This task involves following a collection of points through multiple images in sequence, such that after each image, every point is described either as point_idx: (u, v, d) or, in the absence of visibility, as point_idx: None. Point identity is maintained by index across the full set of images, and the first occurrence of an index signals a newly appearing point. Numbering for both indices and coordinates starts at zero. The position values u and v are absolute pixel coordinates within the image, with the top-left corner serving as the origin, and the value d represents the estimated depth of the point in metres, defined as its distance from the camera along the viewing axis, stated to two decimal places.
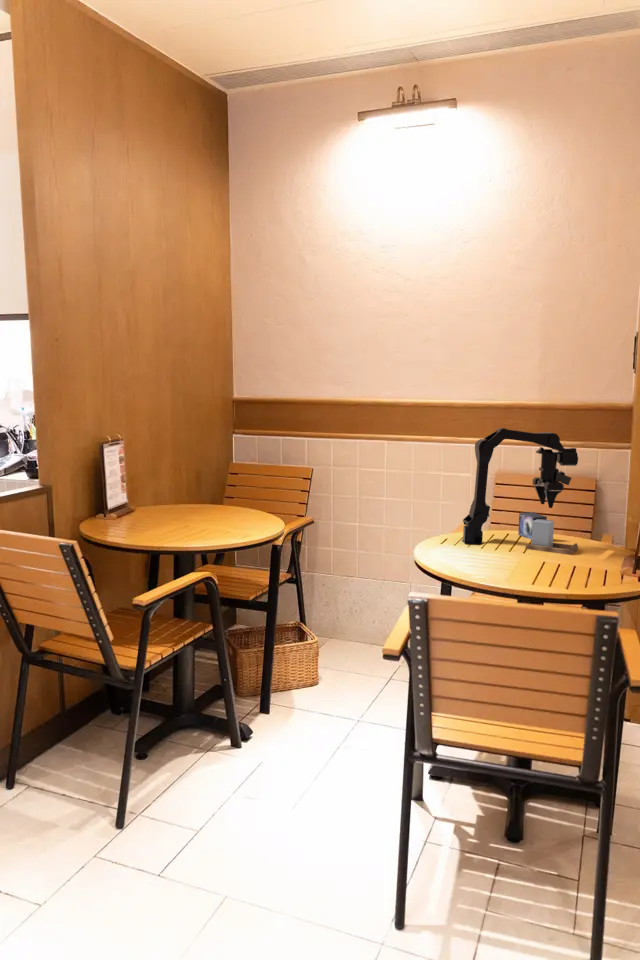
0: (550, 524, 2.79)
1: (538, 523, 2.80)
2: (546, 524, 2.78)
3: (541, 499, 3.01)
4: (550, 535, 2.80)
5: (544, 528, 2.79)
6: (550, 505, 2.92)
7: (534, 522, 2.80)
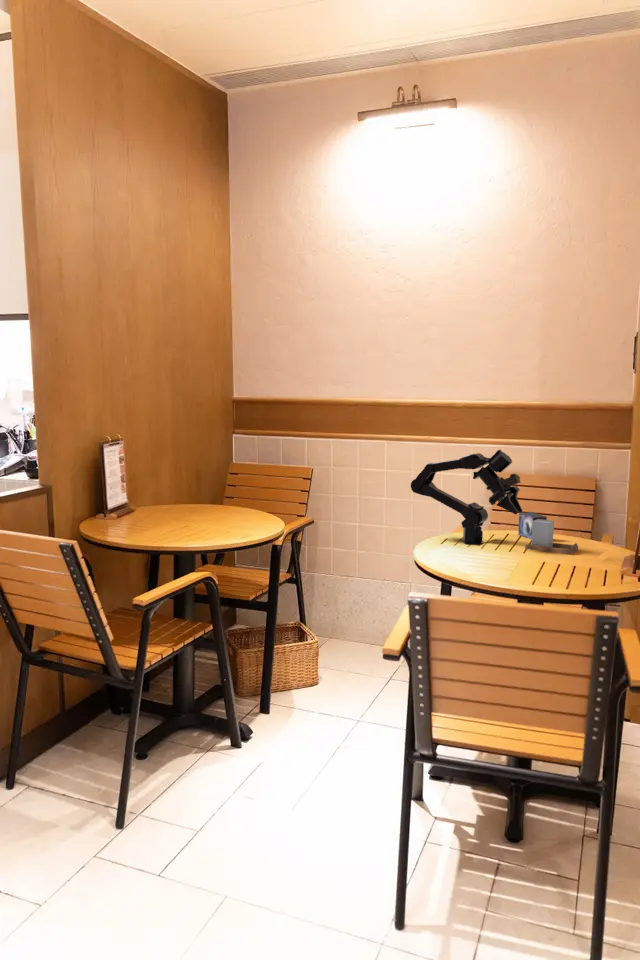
0: (550, 524, 2.79)
1: (538, 523, 2.80)
2: (546, 524, 2.78)
3: (516, 509, 2.89)
4: (550, 535, 2.80)
5: (544, 528, 2.79)
6: (514, 512, 2.84)
7: (534, 522, 2.80)
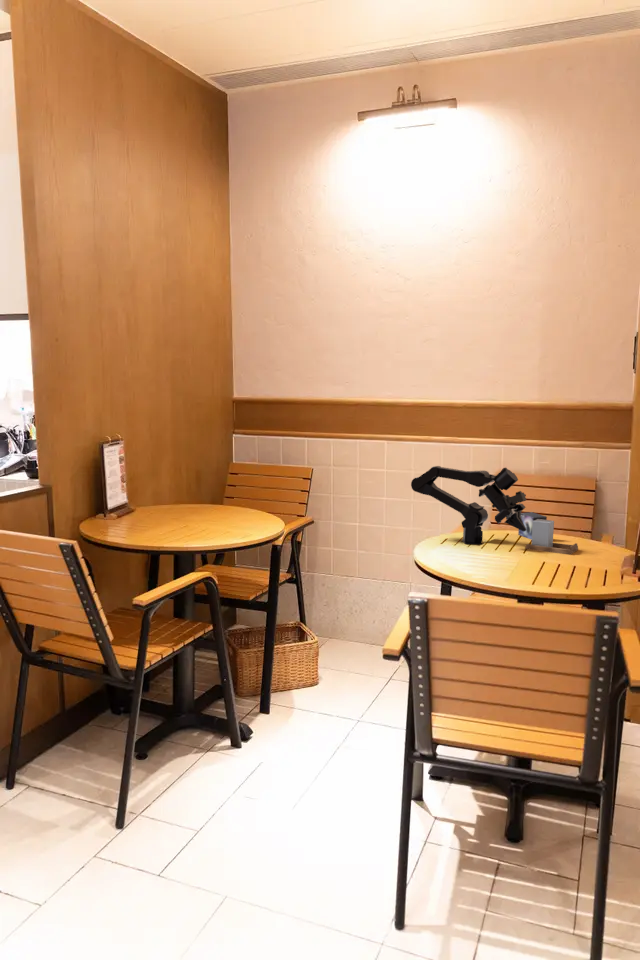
0: (550, 524, 2.79)
1: (538, 523, 2.80)
2: (546, 524, 2.78)
3: None
4: (550, 535, 2.80)
5: (544, 528, 2.79)
6: (522, 529, 2.85)
7: (534, 522, 2.80)
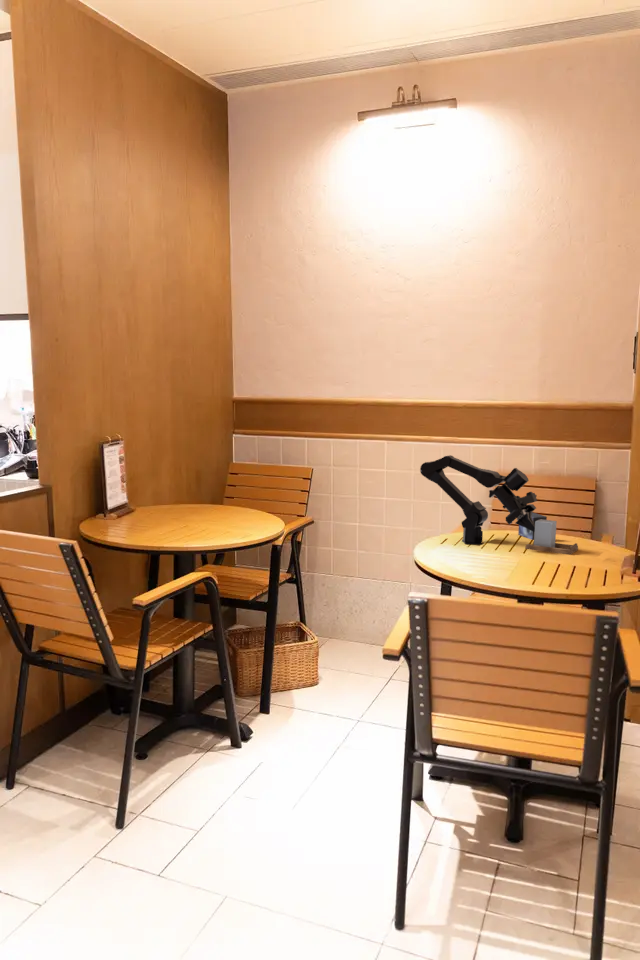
0: (553, 524, 2.78)
1: (540, 523, 2.79)
2: (549, 524, 2.78)
3: None
4: (553, 535, 2.80)
5: (546, 529, 2.78)
6: (533, 530, 2.83)
7: (536, 522, 2.80)
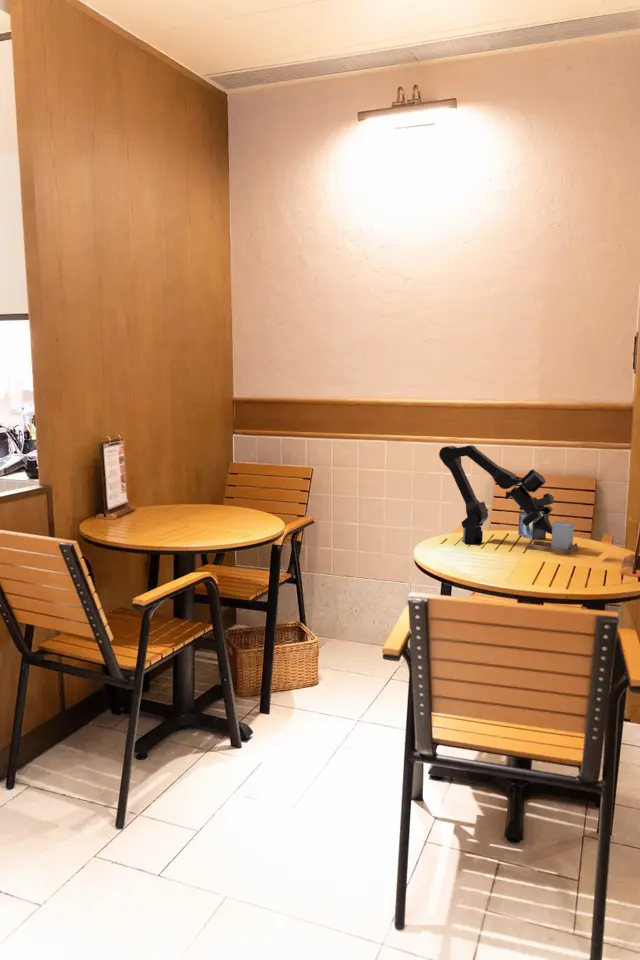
0: (570, 526, 2.75)
1: (558, 525, 2.76)
2: (566, 526, 2.74)
3: None
4: (570, 537, 2.77)
5: (564, 531, 2.75)
6: (550, 532, 2.80)
7: (554, 524, 2.77)
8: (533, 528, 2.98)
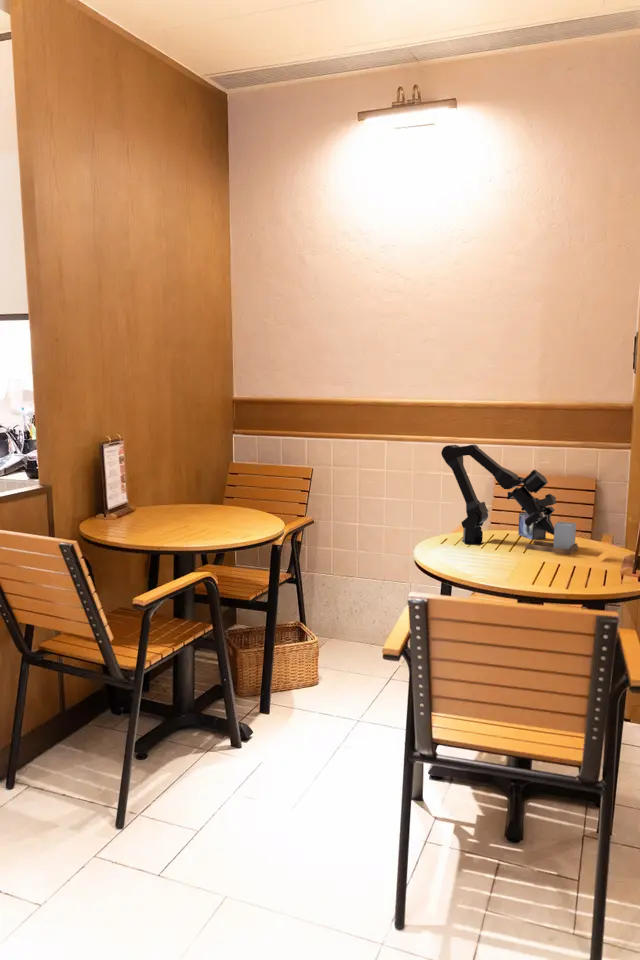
0: (572, 527, 2.75)
1: (560, 526, 2.75)
2: (568, 527, 2.74)
3: None
4: (573, 538, 2.76)
5: (566, 531, 2.74)
6: (552, 532, 2.79)
7: (556, 525, 2.76)
8: (533, 528, 2.98)
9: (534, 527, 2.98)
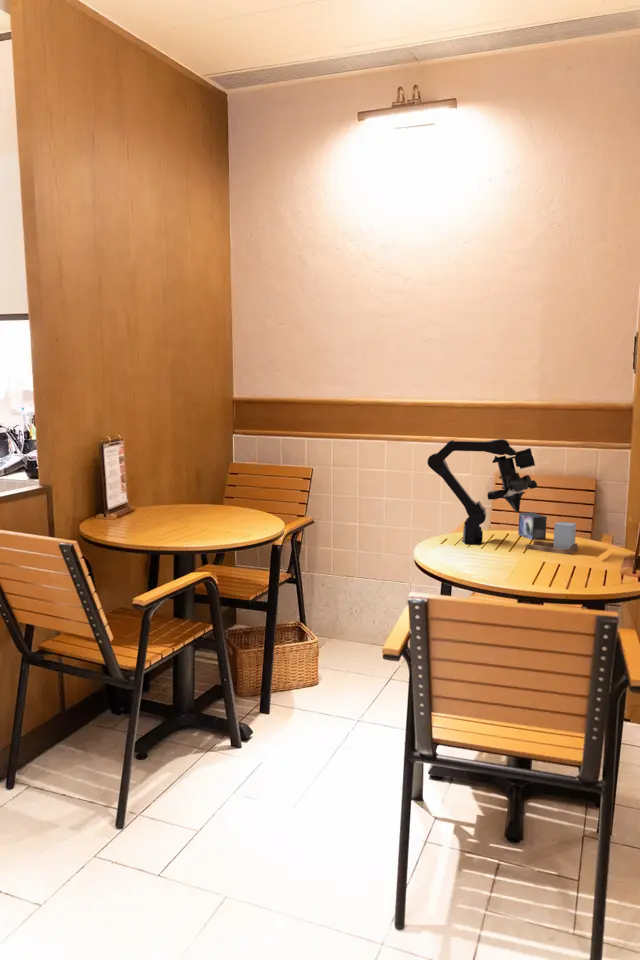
0: (572, 527, 2.75)
1: (560, 526, 2.75)
2: (568, 527, 2.74)
3: None
4: (573, 538, 2.76)
5: (566, 531, 2.74)
6: (515, 509, 2.92)
7: (556, 525, 2.76)
8: (533, 528, 2.98)
9: (534, 527, 2.98)
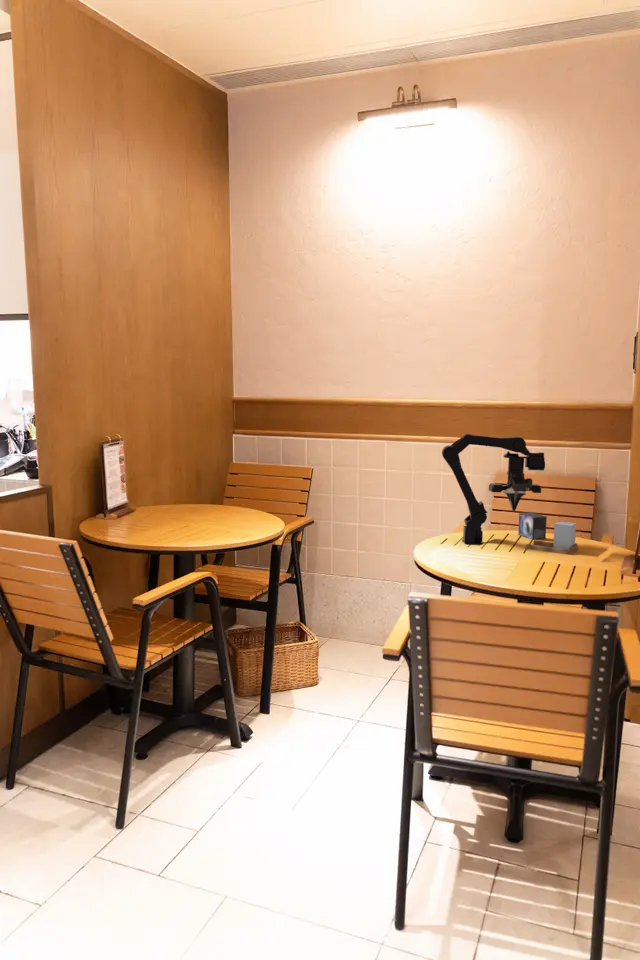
0: (572, 527, 2.75)
1: (560, 526, 2.75)
2: (568, 527, 2.74)
3: None
4: (573, 538, 2.76)
5: (566, 531, 2.74)
6: (511, 507, 2.95)
7: (556, 525, 2.76)
8: (533, 528, 2.98)
9: (534, 527, 2.98)
